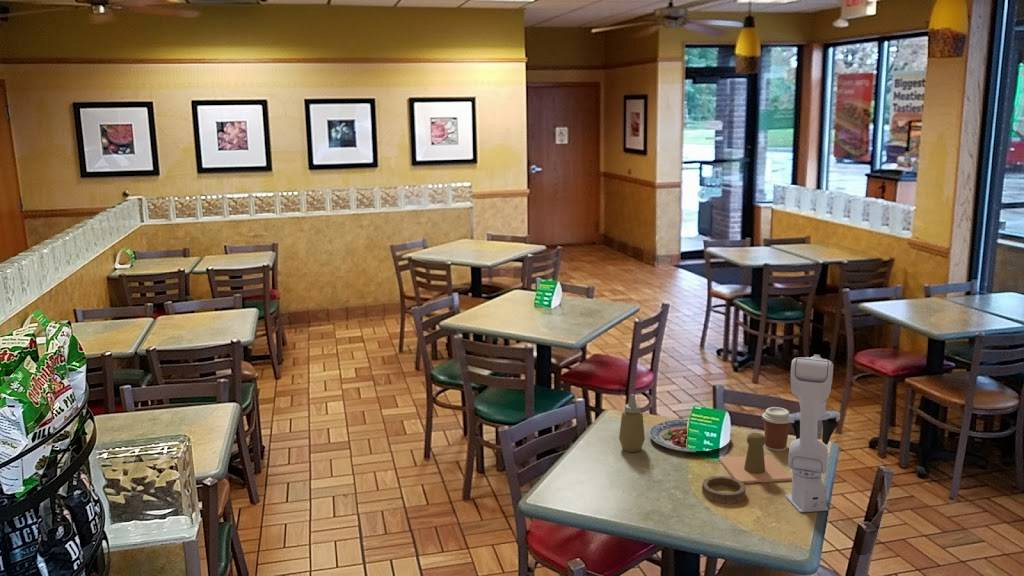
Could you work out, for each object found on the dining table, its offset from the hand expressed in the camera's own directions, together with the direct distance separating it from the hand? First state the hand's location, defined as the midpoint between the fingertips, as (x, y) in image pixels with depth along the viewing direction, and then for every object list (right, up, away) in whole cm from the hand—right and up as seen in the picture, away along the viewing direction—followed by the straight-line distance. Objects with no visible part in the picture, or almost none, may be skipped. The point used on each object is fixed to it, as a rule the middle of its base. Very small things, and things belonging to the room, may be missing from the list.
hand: (812, 444), depth 235 cm
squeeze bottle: (-48, -6, +24) cm, 54 cm away
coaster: (-14, -9, +8) cm, 19 cm away
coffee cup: (-3, -6, +24) cm, 24 cm away
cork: (-15, -9, +7) cm, 18 cm away
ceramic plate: (-29, -5, +30) cm, 42 cm away
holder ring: (-27, -13, -6) cm, 30 cm away
